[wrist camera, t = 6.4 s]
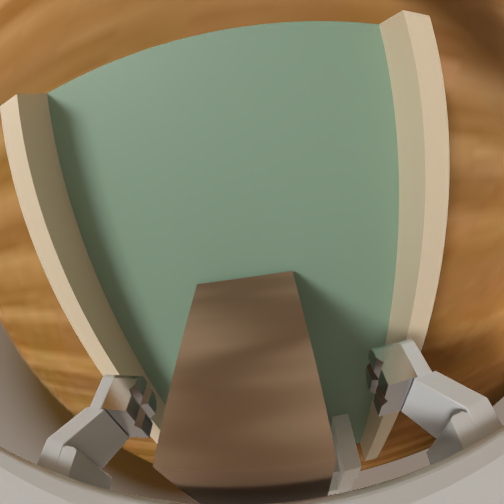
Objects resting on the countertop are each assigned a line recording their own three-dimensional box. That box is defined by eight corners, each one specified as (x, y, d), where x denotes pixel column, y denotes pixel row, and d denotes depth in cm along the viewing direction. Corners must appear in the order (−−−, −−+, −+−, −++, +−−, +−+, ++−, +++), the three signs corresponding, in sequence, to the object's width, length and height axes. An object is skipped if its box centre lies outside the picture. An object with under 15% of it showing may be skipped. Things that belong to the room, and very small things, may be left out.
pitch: (388, 34, 8) (429, 15, 5) (368, 427, 18) (377, 457, 16) (47, 102, 8) (0, 106, 6) (195, 448, 19) (192, 478, 16)
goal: (347, 413, 15) (361, 466, 11) (341, 447, 17) (350, 490, 14) (204, 430, 16) (199, 483, 12) (224, 460, 18) (223, 503, 14)
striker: (326, 265, 10) (399, 441, 4) (325, 413, 15) (345, 519, 8) (165, 288, 11) (102, 458, 4) (224, 425, 15) (219, 530, 9)
